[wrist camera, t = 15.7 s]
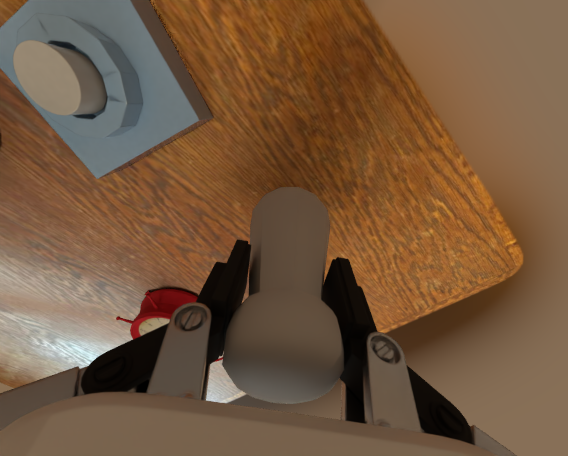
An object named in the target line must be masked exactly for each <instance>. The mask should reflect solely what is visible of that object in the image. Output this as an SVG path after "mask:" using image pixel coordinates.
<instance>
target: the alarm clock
mask: <svg viewBox="0 0 568 456" xmlns="http://www.w3.org/2000/svg"><path fill="white" fill-rule="evenodd" d="M145 295H146V297H145V299H144V300H143V301H142V304H141V310H140V313H139V314H138V316H137V317H136V318H135V319H134V321H131V320H126V319H123V318H120V317H119V316H118V317H117V318H116V319H117V320H122V321H126V322H128V323H132V326H131V329H130V331H131V336H132V338H133V339H135V338H137V337H140V336H142V335H144V334H146V333H148V332H150V331H152V330H155V329H157V328H159V327H161V326H163V325H165V324H167V323H169V321H170V318H171V316H172V314H173V312H174V311H175V310H176V309H177V308H179V307H180V306H182V305H184V304H187V303H192V302H196V300H197V298H198V297H197V296H195V295H193V294H190V293H188V292H185V291H181V290H176V289H161V290H157V291H154V292H151V293H150V292H149V291H148V292H146V294H145ZM222 359H223V357H222V358H220V359H217V360H216V361H219V360H222ZM214 362H215V361H214Z"/></svg>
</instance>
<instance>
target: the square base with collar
mask: <svg viewBox="0 0 568 456" xmlns="http://www.w3.org/2000/svg"><path fill="white" fill-rule="evenodd" d="M27 40H36V41H41V42H45V43H49V44H53V45H57V46H61V47H65V48H69V49H73V50H75V51H77V52H79V53H81V54H83V55H84V56H85V57H87V58H88V59H89V60H90V61H91V62H92V63H93V64H94V65H95V67H96V68H97V69H98V71H99V72H100V74H101V76H102V78H103V80H104V84H105V87H106V92H107V99H106V103H105V106H104V107H103V109H102V110H101V111H100V112H98V113H95V114H87V115H66V116H64V115H57V114H53V113H51V112H49V111H47V110H45V109H43V108H42V107H40V106H39V105H38V104H37V103H36V102H34V101H33V100H32V99H31V98H30V97H29V95H28V94H27V93H26V92H25V90H24V89H23V87H22V86H21V84H20V82H19V80H18V78H17V76H16V73H15V70H14V65H13V55H14V51H15V49H16V47H17V46H18V45H19V44H20V43H21V42H24V41H27ZM0 68H1V69H2V71H3V72H4V73H5V74H6V75H7V76H8V77H9V79H10V80H11V81H12V82H13V83H14V84H15V85H16V87H17V88H18V89H19V90H20V91H21V92H22V93H23V95H24V96H25V97H26V98H27V99H28V100H29V102H30V103H31V104H32V105H33V106H34V107H35V108H36V110H37V111H38V112H39V113H40V114H41V115H42V116H43V118H44V119H45V120H46V121H47V122H48V123H49V124H50V126H51V127H52V128H53V129H54V130H55V131H56V132H57V134H58V135H59V136H60V137H61V138H62V139H63V140H64V142H65V143H66V144H67V145H68V146H69V147H70V148H71V150H72V151H73V152H74V153H75V154H76V155H77V156H78V158H79V159H80V160H81V161H82V162H83V163H84V164H85V166H86V167H87V168H88V169H89V170H90V171H91V172H92V174H93V175H94V176H95V177H96V178H97V179H98V178H101V177H104V176H106V175H109V174H112V173H115V172H117V171H120V170H123V169H124V168H126V167H128V166H130V165H131V164H133V163H135V162H137V161H139V160H140V159H142V158H144V157H146V156H147V155H149V154H151V153H153V152H154V151H156V150H158V149H160V148H162V147H163V146H165V145H167V144H169V143H170V142H172V141H174V140H176V139H177V138H179V137H181V136H183V135H184V134H186V133H188V132H190V131H192V130H193V129H195V128H197V127H199V126H200V125H202V124H204V123H206V122H207V121H209V120H211V119H213V116H212V114H211V112H210V111H209V109H208V107H207V105H206V103H205V101H204V100H203V98H202V96H201V94H200V92H199V90H198V89H197V87H196V85H195V83H194V81H193V80H192V78H191V76H190V74H189V72H188V70H187V69H186V67H185V65H184V63H183V61H182V59H181V58H180V56H179V54H178V52H177V50H176V48H175V47H174V45H173V43H172V41H171V39H170V38H169V36H168V34H167V32H166V30H165V28H164V27H163V25H162V23H161V21H160V19H159V17H158V16H157V14H156V12H155V10H154V8H153V7H152V5H151V3H150V1H149V0H28V1H27V2H26V3H25V4H24V5H23V6H22V7H21V8H20V9H19V10H18V11H17V12H16V13H15V14H14V15H13V16H12V17H11V18H10V19H9V20H8V21H7V22H6V23H5V24H4V25H3V26H2V27H1V28H0Z"/></svg>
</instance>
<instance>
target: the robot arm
mask: <svg viewBox="0 0 568 456" xmlns="http://www.w3.org/2000/svg"><path fill="white" fill-rule="evenodd" d="M250 253H251V245H250V244H248V241H243V240H237V241H236V243H235V245H234V248H233V250H232V252H231V255H230V257H229V259H228V261H227V263H222V262H216V263H215V265H214V267H213V269H212V271H211V273H210V275H209V277H208V279H207V281H206V283H205V284H204V286H203V288H202V290H201V292H200V294H199V296H198V298H197V300H196V302H192V303H187V304H184V305H182V306H180V307H179V308H177V309H176V310H175V311H174V312H173V314H172V316H171V318H170V321H169V323H167V324H165V325H163V326H161V327H159V328H157V329H155V330H152V331H150V332H148V333H146V334H144V335H142V336H140V337H137V338H135V339H133V340H131V341H129V342H127V343H125V344H122V345H120V346H118V347H116V348H114V349H112V350H110V351H107V352H106V353H104V354H102V355H100V356H99V357H97V358H96V359H95V360H94V361H93V362H92V363H91V364H90V365H89V366H87V367H84V368H81V369H79V367H75V368H72V369H69V370H66V371H63V372H60V373H58V374H55V375H52V376H49V377H46V378H43V379H40V380H38V381H35V382H32V383H29V384H26V385H23V386H20V387H17V388H15V389H12V390H9V391H6V392H3V393H0V456H517V455H515V454H514V453H513V452H511V451H510V450H508V449H507V448H506V447H504V446H503V445H501V444H500V443H498V442H497V441H496V440H494V439H493V438H491V437H490V436H489V435H487V434H486V433H484V432H483V431H481V430H480V429H479V428H477V427H476V426H475V425H473V426H471V427H470V426H469V425H468V423H467V421H466V419H465V418H464V416H463V415H462V414H461V413H460V411H459V410H458V409H457V408H456V407H455V406H454V405H453V404H452V403H451V402H449V401H448V400H447V399H446V398H445V397H444V396H442V395H441V394H440V393H439V392H438V391H436V390H435V389H434V388H433V387H432V386H430V385H429V384H428V383H427V382H426V381H425V380H424V379H422V378H421V377H420V376H419V375H418V374H416V373H415V372H414V371H413V370H412V369H411V368H409V367H408V366H407V365H406V361H405V357H404V353H403V351H402V349H401V347H400V346H399V344H398V343H397V342H396V341H395V340H394V339H393V338H391V337H390V336H388V335H386V334H384V333H381V332H377V329H376V326H375V323H374V320H373V318H372V315H371V312H370V309H369V306H368V304H367V301H366V298H365V295H364V292H363V290H362V288H361V287H360V286H357V283H356V280H355V277H354V274H353V271H352V268H351V265H350V262H349V259H345V258H339V257H337V258H336V260H335V259H333V260H332V263H331V265H330V268H329V271H328V274H327V276H326V279H325V282H324V285H323V290H322V299H321V300H322V301H323V302H324V303H325V304H326V305H327V306H328V307H329V308H330V309H331V310H332V311H333V312H334V314H335V316H336V317H337V321H338V325H339V329H340V333H341V338H342V343H343V349H344V370H343V372H342V374H341V375H340V377H339V378H340V379H341V380H342V395H341V420H337V419H330V418H324V417H317V416H309V415H302V414H296V413H289V412H282V411H275V410H268V409H261V408H254V407H247V406H239V405H232V404H226V403H219V402H211V401H206V395H207V387H208V379H209V371H210V364H211V363H213V362H214V361H216V360H217V359H218V358H219V356H222V355H223V351H224V346H225V338H226V331H227V328H228V325H229V322H230V320H231V318H232V315H233V313H234V312H235V311H236V310H237V308H238V307H239V306H240V305H241V303H242V300H243V296H244V293H245V289H246V284H247V277H248V269H249V261H250Z"/></svg>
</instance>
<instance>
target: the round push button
mask: <svg viewBox="0 0 568 456" xmlns="http://www.w3.org/2000/svg"><path fill="white" fill-rule="evenodd" d="M13 65H14V70H15V73H16V76H17V78H18V80H19V82H20V84H21V86H22V87H23V89H24V90H25V92H26V93H27V94H28V95H29V97H30V98H31V99H32V100H33V101H34V102H36V103H37V104H38V105H39V106H40V107H42V108H43V109H45V110H47V111H49V112H51V113H53V114H57V115H64V116H66V115H87V114H95V113H98V112H100V111H101V110H102V109H103V107H104V106H105V103H106V99H107V92H106V87H105V84H104V80H103V78H102V76H101V74H100V72H99V71H98V69H97V68H96V67H95V65H94V64H93V63H92V62H91V61H90V60H89V59H88V58H87V57H85V56H84V55H83V54H81V53H79V52H77V51H75V50H73V49H69V48H65V47H61V46H57V45H53V44H49V43H45V42H41V41H36V40H27V41H24V42H21V43H20V44H19V45H18V46H17V47H16V49H15V51H14V55H13Z"/></svg>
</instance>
